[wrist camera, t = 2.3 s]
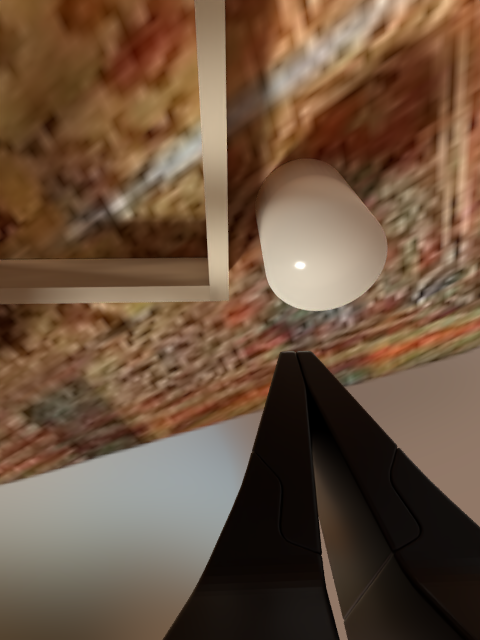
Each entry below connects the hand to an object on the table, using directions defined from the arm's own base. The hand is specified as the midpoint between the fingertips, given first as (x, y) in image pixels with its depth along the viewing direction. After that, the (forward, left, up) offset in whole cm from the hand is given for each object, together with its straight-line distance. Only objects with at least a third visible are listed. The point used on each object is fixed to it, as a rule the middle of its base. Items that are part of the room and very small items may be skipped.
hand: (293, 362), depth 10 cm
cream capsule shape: (-1, -2, -12) cm, 12 cm away
